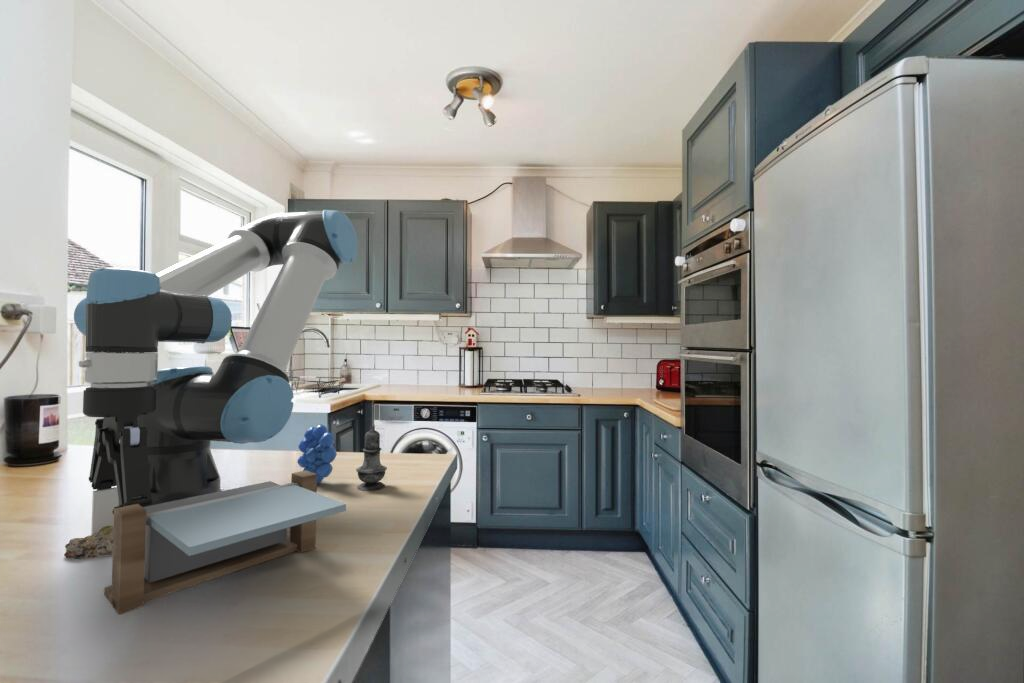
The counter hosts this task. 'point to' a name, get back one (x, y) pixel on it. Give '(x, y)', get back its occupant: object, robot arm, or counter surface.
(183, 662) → the counter surface
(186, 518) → the trapdoor
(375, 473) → the salt shaker
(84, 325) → the robot arm
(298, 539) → the frame
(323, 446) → the grapes
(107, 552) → the mineral rock
